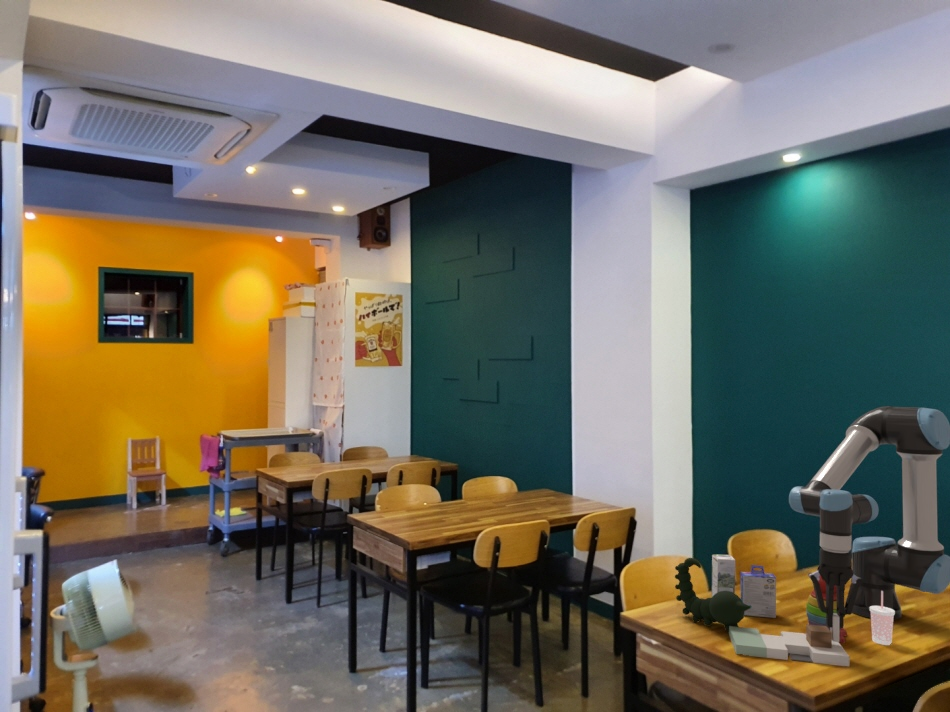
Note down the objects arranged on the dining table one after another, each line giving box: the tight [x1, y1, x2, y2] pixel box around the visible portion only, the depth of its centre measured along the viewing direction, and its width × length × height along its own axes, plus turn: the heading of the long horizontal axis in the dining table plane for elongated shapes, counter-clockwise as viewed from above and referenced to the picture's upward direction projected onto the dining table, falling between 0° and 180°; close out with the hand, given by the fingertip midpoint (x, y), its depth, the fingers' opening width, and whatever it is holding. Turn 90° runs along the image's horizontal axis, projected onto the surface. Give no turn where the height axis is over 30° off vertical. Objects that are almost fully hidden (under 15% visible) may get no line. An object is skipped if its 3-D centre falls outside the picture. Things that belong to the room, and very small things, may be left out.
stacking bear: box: [805, 576, 848, 645], centre depth 196 cm, size 11×10×18 cm
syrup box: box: [710, 554, 736, 598], centre depth 224 cm, size 6×6×14 cm
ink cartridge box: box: [739, 564, 777, 619], centre depth 212 cm, size 10×6×14 cm, turn 78°
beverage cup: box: [869, 591, 895, 646], centre depth 192 cm, size 6×6×14 cm
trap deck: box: [728, 626, 850, 667], centre depth 184 cm, size 27×14×2 cm, turn 77°
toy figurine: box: [674, 557, 750, 634], centre depth 202 cm, size 9×19×25 cm
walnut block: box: [805, 623, 832, 648], centre depth 182 cm, size 5×5×4 cm
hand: (834, 639), depth 181 cm, fingers closed
